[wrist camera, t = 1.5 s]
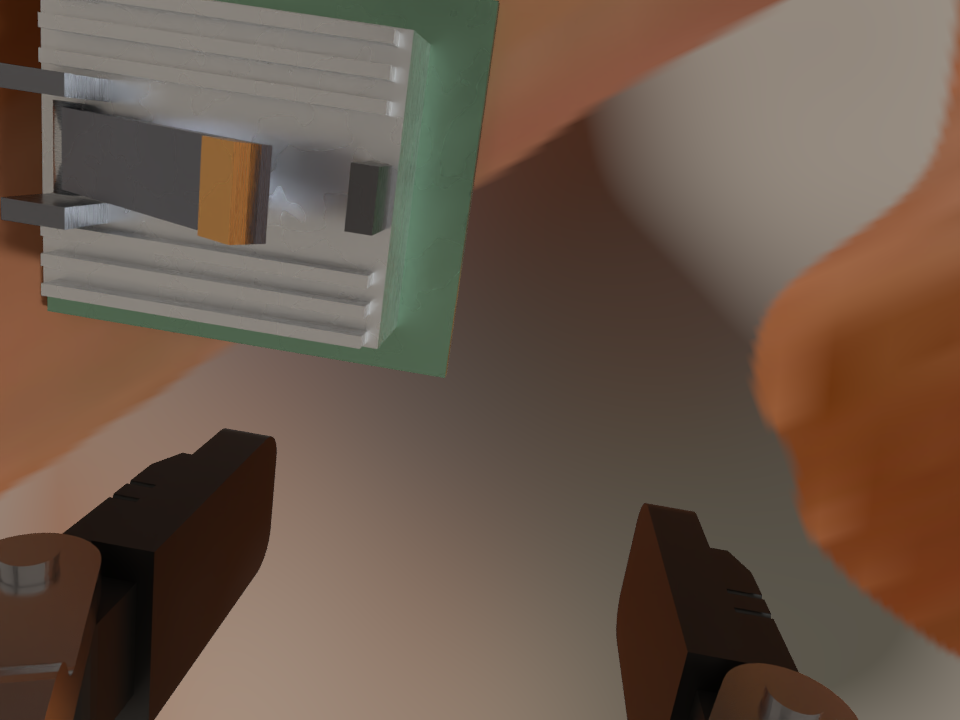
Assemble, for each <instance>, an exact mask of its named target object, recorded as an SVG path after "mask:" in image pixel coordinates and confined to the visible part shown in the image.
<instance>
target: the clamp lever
mask: <svg viewBox="0 0 960 720" xmlns="http://www.w3.org/2000/svg"><path fill="white" fill-rule="evenodd" d="M271 160H272V146H271V145H266V144H260V143H255V142H250V141H245V140H240V139H234V138H229V137H224V136H219V135H214V134H208V133H203V132H198V131H193V130H187V129H182V128H177V127H172V126H167V125H161V124H156V123H151V122H146V121H141V120H135V119H130V118H125V117H120V116H114V115H109V114H104V113H99V112H94V111H88V110H83V104H82V103H75V102H69V101H61V100H53V193H55V194H60V195H69V196H85V197H89V198H92V199H95V200H99V201H102V202H105V203H109V204H112V205H115V206H118V207H122V208H125V209H128V210H132V211H135V212H138V213H142V214H145V215H148V216H152V217H155V218H158V219H162V220H165V221H168V222H171V223H175V224H178V225H181V226H185V227H188V228H191V229H195V230H198V233H197V236H200V237H204V238H207V239H210V240H213V241H217V242H220V243H223V244H226V245H248V244H266V231H267V217H268V203H269V188H270V174H271Z"/></svg>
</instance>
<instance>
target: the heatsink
mask: <svg viewBox="0 0 960 720" xmlns="http://www.w3.org/2000/svg"><path fill="white" fill-rule="evenodd" d="M498 11H499V1H495V0H41V12H38V27H41V48H40V47H38V60H39V62H41V69H37V68H31V67H24V66H18V65H11V64H5V63H0V87H3V88H9V89H16V90H22V91H29V92H35V93H41V94H42V182H43V194H35V195H23V196H10V197H1V220H7V221H13V222H20V223H26V224H32V225H38V226H40V235H41V236H43V253H41V266H43V277H44V282H43V283H41V295H42V296H47V300H48V311H52V312H58V313H64V314H70V315H76V316H82V317H88V318H93V319H99V320H105V321H111V322H117V323H123V324H129V325H135V326H141V327H147V328H153V329H159V330H164V331H170V332H176V333H182V334H188V335H194V336H200V337H206V338H212V339H218V340H224V341H229V342H235V343H241V344H247V345H253V346H259V347H265V348H271V349H277V350H283V351H289V352H295V353H300V354H307V355H313V356H318V357H324V358H330V359H336V360H342V361H348V362H354V363H360V364H366V365H371V366H378V367H383V368H390V369H395V370H401V371H407V372H413V373H419V374H425V375H431V376H436V377H442V378H445V377H446V375H447V369H448V361H449V354H450V348H451V341H452V333H453V327H454V320H455V312H456V305H457V299H458V292H459V284H460V277H461V271H462V263H463V256H464V249H465V243H466V236H467V229H468V221H469V214H470V207H471V199H472V193H473V186H474V179H475V172H476V165H477V158H478V151H479V144H480V137H481V130H482V123H483V116H484V109H485V102H486V95H487V88H488V81H489V74H490V67H491V60H492V53H493V46H494V39H495V32H496V25H497V18H498ZM53 100H61V101H69V102H75V103H82V104H83V110H88V111H94V112H99V113H104V114H109V115H114V116H120V117H125V118H130V119H135V120H141V121H146V122H151V123H156V124H161V125H167V126H172V127H177V128H182V129H187V130H193V131H198V132H203V133H208V134H214V135H219V136H224V137H229V138H234V139H240V140H245V141H250V142H255V143H260V144H266V145H271V146H272V160H271V174H270V188H269V203H268V217H267V231H266V244H248V245H226V244H223V243H220V242H217V241H213V240H210V239H207V238H204V237H200V236H197V233H198V230H195V229H191V228H188V227H185V226H181V225H178V224H175V223H171V222H168V221H165V220H162V219H158V218H155V217H152V216H148V215H145V214H142V213H138V212H135V211H132V210H128V209H125V208H122V207H118V206H115V205H112V204H109V203H105V202H102V201H99V200H95V199H92V198H89V197H85V196H69V195H60V194H55V193H53Z"/></svg>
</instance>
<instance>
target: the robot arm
mask: <svg viewBox="0 0 960 720" xmlns="http://www.w3.org/2000/svg"><path fill="white" fill-rule="evenodd" d="M276 454H277V448H276V442H275V439H274V438H273V437H271V436H265V435H259V434H253V433H249V432H243V431H237V430H231V429H226V428H225V429H222V430H221V431H220V432H218V433H217V434H216V435H215V436H214V437H213V438H212V439H210V440H209V441H208V442H207V443H205V444H204V445H203V446H202V447H201V448H199V449H198V450H197V451H196V452H195V453H194V454H192V455H191V454H186V453H181V454H178V455H175V456H173V457H170V458H167V459H164V460H162V461H159V462H156V463H154V464H151V465H150V466H149V467H147V468H146V469H145V470H143V471H142V472H141V473H140V474H138V475H137V476H136V477H134V478H133V479H132V480H131V482H130V484H125V485H124V486H123V487H122V488H120V489H119V490H118V491H117V492H115V493H114V495H113V498H111V497H109V498H108V499H106V500H105V501H104V502H103V503H101V504H100V505H99V506H97V507H96V508H95V509H93V510H92V511H91V512H90V513H88V514H87V515H86V516H85V517H83V518H82V519H81V520H79V521H78V522H77V523H76V524H74V525H73V526H72V527H71V528H69V529H68V530H67V531H65V532H64V533H63V534H59V533H33V534H26V535H18V536H13V537H9V538H5V539H1V540H0V720H154V719H155V718H156V716H157V715H158V713H159V712H160V711H161V709H162V708H163V706H164V705H165V704H166V702H167V701H168V699H169V698H170V696H171V695H172V693H173V692H174V691H175V689H176V688H177V686H178V685H179V683H180V682H181V681H182V679H183V678H184V676H185V675H186V674H187V672H188V671H189V669H190V668H191V666H192V665H193V663H194V662H195V661H196V659H197V658H198V656H199V655H200V654H201V652H202V650H203V649H204V648H205V646H206V645H207V643H208V642H209V641H210V639H211V638H212V636H213V635H214V633H215V632H216V630H217V629H218V628H219V626H220V625H221V623H222V622H223V621H224V619H225V617H226V616H227V615H228V613H229V612H230V610H231V609H232V608H233V606H234V605H235V603H236V602H237V600H238V599H239V597H240V596H241V595H242V593H243V592H244V591H245V589H246V587H247V586H248V585H249V583H250V582H251V581H252V579H253V578H254V576H255V575H256V573H257V572H258V570H259V568H260V566H261V564H262V561H263V559H264V556H265V553H266V550H267V546H268V542H269V536H270V529H271V516H272V504H273V492H274V479H275V467H276ZM616 636H617V646H618V653H619V660H620V668H621V675H622V682H623V690H624V697H625V705H626V713H627V720H858V718H857V717H856V715H855V714H854V712H853V711H852V710H851V709H850V707H849V706H848V705H847V704H846V703H845V702H844V701H843V700H842V699H841V698H839V697H838V696H837V695H835V694H834V693H833V692H832V691H831V690H829V689H828V688H826V687H825V686H823V685H822V684H820V683H818V682H817V681H815V680H813V679H811V678H810V677H807V676H805V675H803V674H801V673H799V672H798V670H797V668H796V666H795V664H794V661H793V659H792V657H791V655H790V653H789V651H788V649H787V647H786V644H785V642H784V640H783V638H782V636H781V634H780V632H779V630H778V628H777V626H776V623H775V621H774V619H771V613H770V611H769V609H768V607H767V605H766V602H765V600H763V599H762V594H761V592H760V590H759V588H758V586H757V584H756V581H755V579H754V577H753V575H752V574H751V572H750V571H749V570H748V569H747V568H746V567H745V566H744V565H742V564H741V563H740V562H739V561H738V560H737V559H736V558H735V557H734V556H733V555H732V554H731V553H729V552H728V551H726V550H720V549H715V548H710V547H709V544H708V542H707V539H706V537H705V535H704V532H703V530H702V527H701V524H700V522H699V519H698V517H697V515H696V513H695V512H693V511H687V510H682V509H676V508H670V507H664V506H659V505H653V504H647V503H644V504H643V506H642V507H641V510H640V512H639V516H638V519H637V523H636V528H635V533H634V537H633V541H632V545H631V550H630V554H629V558H628V563H627V567H626V572H625V576H624V580H623V585H622V589H621V593H620V598H619V604H618V612H617V625H616Z"/></svg>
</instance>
